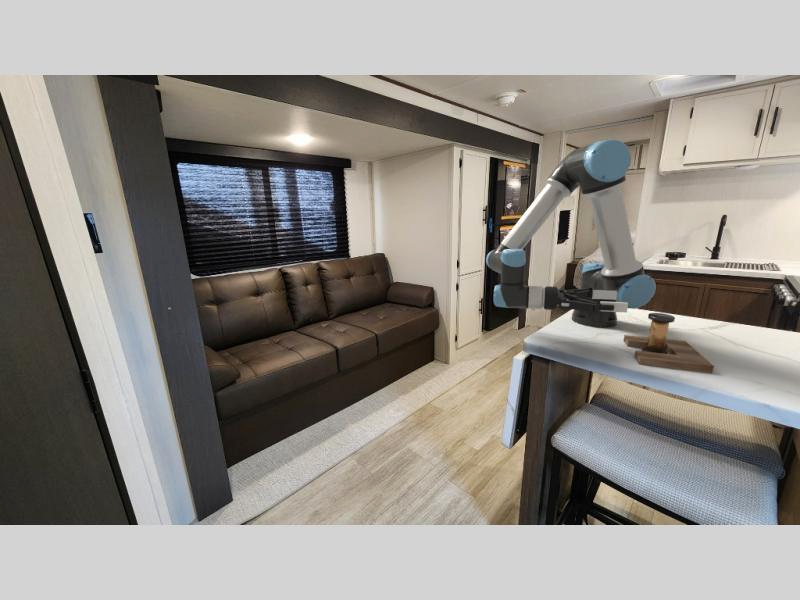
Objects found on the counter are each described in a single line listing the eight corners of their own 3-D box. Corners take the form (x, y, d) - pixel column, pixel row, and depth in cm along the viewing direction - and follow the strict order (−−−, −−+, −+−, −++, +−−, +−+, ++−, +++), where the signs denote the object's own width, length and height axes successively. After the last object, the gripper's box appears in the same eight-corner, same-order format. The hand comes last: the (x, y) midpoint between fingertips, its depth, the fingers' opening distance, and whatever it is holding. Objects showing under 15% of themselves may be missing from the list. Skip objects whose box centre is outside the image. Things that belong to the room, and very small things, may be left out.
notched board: (623, 340, 106) (624, 334, 105) (683, 346, 100) (685, 340, 99) (639, 364, 90) (640, 357, 89) (712, 373, 84) (713, 366, 83)
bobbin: (639, 348, 100) (645, 312, 96) (662, 351, 97) (670, 313, 94) (645, 356, 94) (652, 318, 91) (670, 359, 92) (678, 320, 89)
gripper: (542, 298, 115) (611, 301, 107) (543, 321, 93) (630, 327, 85) (543, 278, 113) (613, 279, 105) (545, 296, 91) (634, 300, 83)
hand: (621, 301), depth 95 cm, fingers open, 13 cm apart
